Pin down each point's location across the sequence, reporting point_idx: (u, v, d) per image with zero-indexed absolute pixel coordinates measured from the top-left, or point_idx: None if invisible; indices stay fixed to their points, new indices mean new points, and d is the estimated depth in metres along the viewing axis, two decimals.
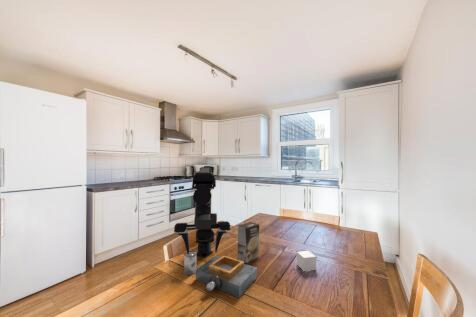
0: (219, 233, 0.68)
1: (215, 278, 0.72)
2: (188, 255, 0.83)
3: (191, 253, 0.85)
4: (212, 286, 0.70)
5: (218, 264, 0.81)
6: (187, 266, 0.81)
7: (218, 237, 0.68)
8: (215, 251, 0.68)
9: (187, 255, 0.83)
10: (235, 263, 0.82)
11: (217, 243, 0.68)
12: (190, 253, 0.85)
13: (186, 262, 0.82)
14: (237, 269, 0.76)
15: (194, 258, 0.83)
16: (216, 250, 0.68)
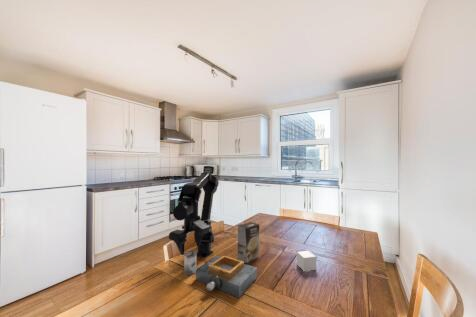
0: None
1: (215, 278, 0.72)
2: (188, 255, 0.83)
3: (191, 253, 0.85)
4: (212, 286, 0.70)
5: (218, 264, 0.81)
6: (187, 266, 0.81)
7: (201, 235, 0.88)
8: (198, 246, 0.88)
9: (187, 255, 0.83)
10: (235, 263, 0.82)
11: (200, 240, 0.88)
12: (190, 253, 0.85)
13: (186, 262, 0.82)
14: (237, 269, 0.76)
15: (194, 258, 0.83)
16: (199, 245, 0.88)
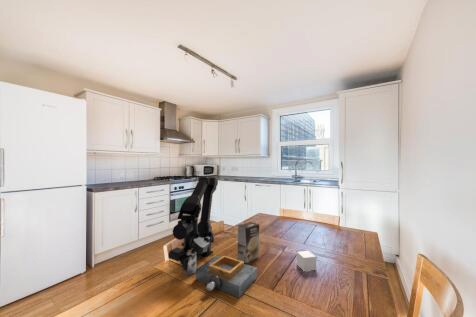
0: None
1: (215, 278, 0.72)
2: (188, 255, 0.83)
3: (191, 253, 0.85)
4: (212, 286, 0.70)
5: (218, 264, 0.81)
6: (187, 266, 0.82)
7: (198, 253, 0.86)
8: None
9: None
10: (235, 263, 0.82)
11: (197, 258, 0.86)
12: (190, 253, 0.85)
13: None
14: (237, 269, 0.76)
15: (194, 258, 0.83)
16: None
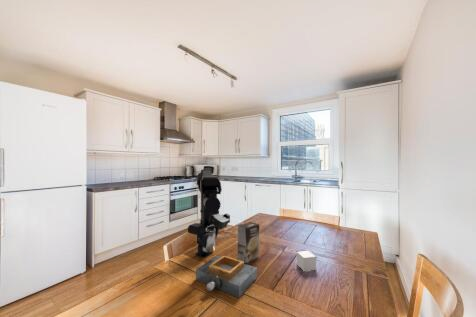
0: (219, 228, 0.83)
1: (215, 278, 0.72)
2: None
3: (210, 230, 0.82)
4: (212, 286, 0.70)
5: (218, 264, 0.81)
6: None
7: (217, 231, 0.83)
8: None
9: None
10: (235, 263, 0.82)
11: (216, 236, 0.83)
12: (209, 230, 0.82)
13: None
14: (237, 269, 0.76)
15: (213, 235, 0.80)
16: None
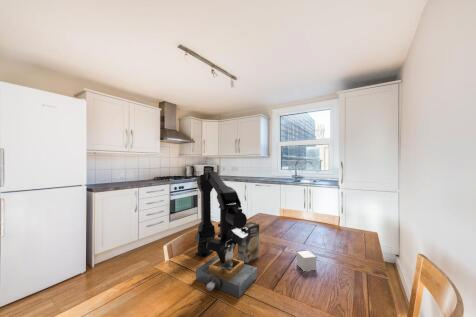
0: (237, 242, 0.81)
1: (215, 278, 0.72)
2: None
3: (227, 245, 0.80)
4: (212, 286, 0.70)
5: (218, 264, 0.81)
6: (225, 258, 0.77)
7: (234, 245, 0.81)
8: None
9: None
10: (235, 263, 0.82)
11: (233, 250, 0.81)
12: (226, 245, 0.80)
13: None
14: (237, 269, 0.76)
15: (231, 250, 0.78)
16: None
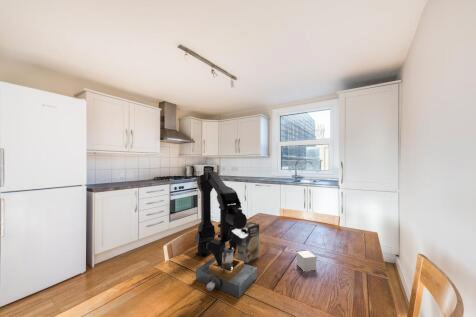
0: None
1: (215, 278, 0.72)
2: (225, 251, 0.78)
3: (227, 249, 0.80)
4: (212, 286, 0.70)
5: None
6: (225, 262, 0.77)
7: (237, 244, 0.83)
8: (234, 255, 0.83)
9: None
10: (235, 263, 0.82)
11: (235, 249, 0.83)
12: (226, 249, 0.80)
13: (223, 258, 0.77)
14: (237, 269, 0.76)
15: (232, 254, 0.78)
16: (234, 254, 0.83)
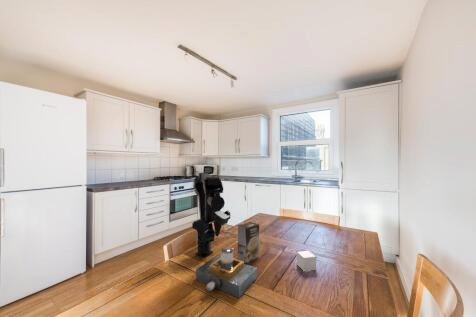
0: None
1: (215, 278, 0.72)
2: (225, 251, 0.78)
3: (227, 249, 0.80)
4: (212, 286, 0.70)
5: (218, 264, 0.81)
6: (224, 262, 0.77)
7: (220, 225, 0.92)
8: (217, 235, 0.92)
9: (224, 251, 0.78)
10: (235, 263, 0.82)
11: (219, 230, 0.92)
12: (226, 249, 0.80)
13: (223, 258, 0.77)
14: (237, 269, 0.76)
15: (231, 254, 0.78)
16: (218, 234, 0.92)
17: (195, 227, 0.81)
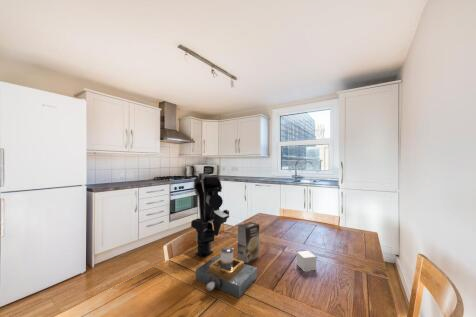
0: None
1: (215, 278, 0.72)
2: (225, 251, 0.78)
3: (227, 249, 0.80)
4: (212, 286, 0.70)
5: (218, 264, 0.81)
6: (224, 262, 0.77)
7: (220, 225, 0.93)
8: (217, 235, 0.92)
9: (224, 251, 0.78)
10: (235, 263, 0.82)
11: (218, 229, 0.93)
12: (226, 249, 0.80)
13: (223, 258, 0.77)
14: (237, 269, 0.76)
15: (231, 254, 0.78)
16: (217, 234, 0.93)
17: (194, 226, 0.81)
